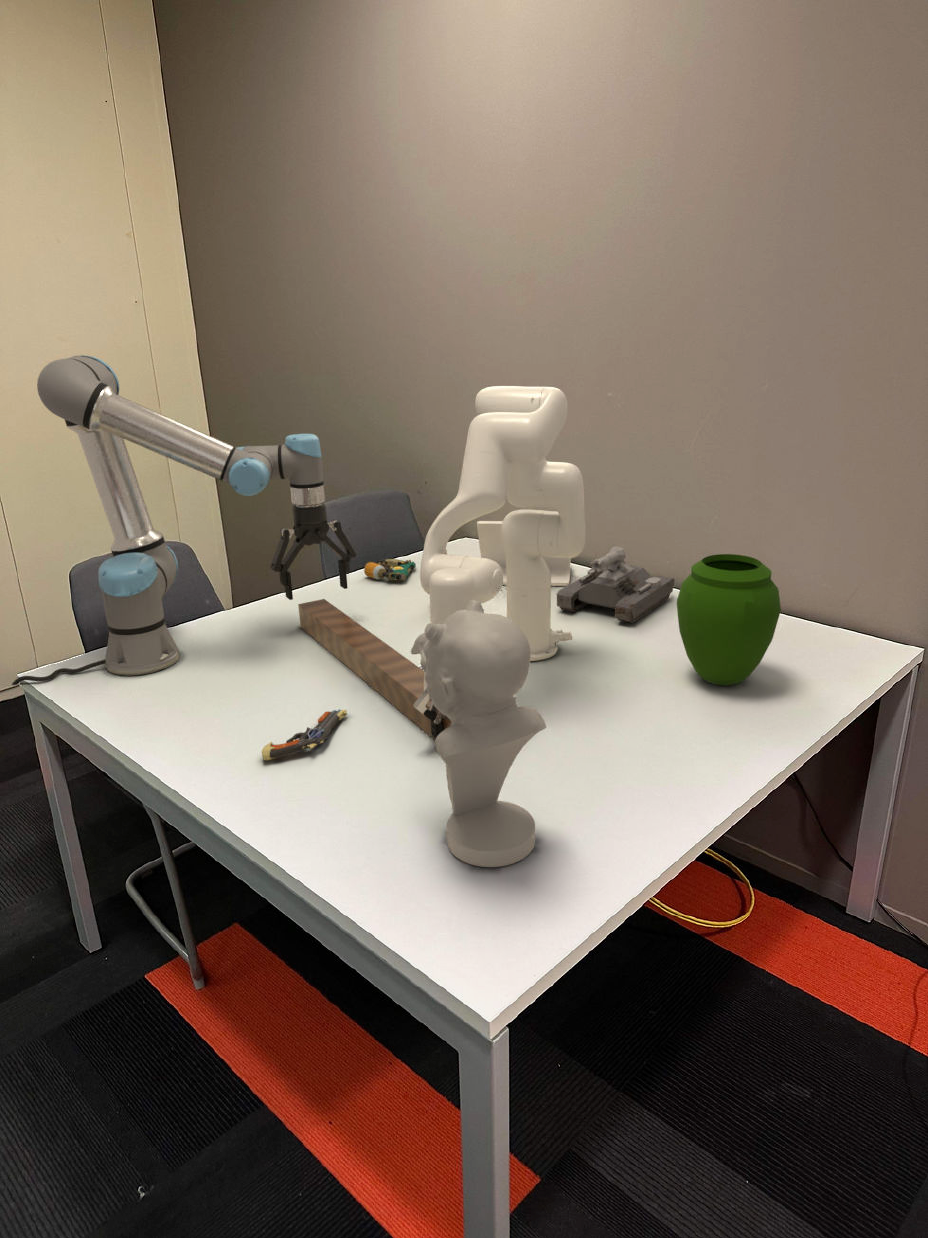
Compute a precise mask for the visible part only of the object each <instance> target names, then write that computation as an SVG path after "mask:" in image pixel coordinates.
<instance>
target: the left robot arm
mask: <svg viewBox="0 0 928 1238" xmlns="http://www.w3.org/2000/svg"><path fill="white" fill-rule="evenodd" d="M36 388H37V394H38V397H39V399H40V401H41V402H42V404H43V405H44V407H45V408H46V409H47V410H48V411H49V412H50V413H51V414H53V415H55V416H57V417H59V418H61V419H63V420H64V422H65V425H66V427H67V429H69V430H71V431H73V432H75V433H76V435H77V436H78V439H79V443H80V444H81V447H82V450H83V453H84V456H85V459H86V461H87V464H88V468H89V470H90V473H91V476H92V478H93V482H94V484H95V487H96V490H97V493H98V496H99V499H100V502H101V504H102V507H103V510H104V513H105V515H106V518H107V522H108V524H109V527H110V529H111V533H112V536H113V542H112V544H111V545H110V552H111V554H112V557H109V558H108V559H106V560H105V561H103V562H102V563H101V564H100V566H99V568H98V570H97V571H98V586H99V589H100V593H101V597H102V603H103V608H104V614H105V618H106V624H107V629H108V634H109V635H108V639H107V646H106V652H105V658H103V659H101V660H98V661H95V662H91V663H89V664H86V665H83V666H80V667H77V668H68V667H62V668H58V669H55V670H54V671H53V672H52V673H50V674H49V675H46V676H33V675H22V676H20V677H17V678H16V679H15V680H13V682H12V684H11V686H17V685H18V684H20V683H21V682H24V681H33V682H47V681H50V680H52V679H54V678H55V677H56V676H57V675H59V674H62V673H63V674H64V673H67V674H78V673H81V672H84V671H87V670H90V669H92V668H95V667H99V666H103V665H105V668H106V670H107V671H108V672H109V673H111V674H114V675H119V676H140V675H147V674H153V673H156V672H158V671H162V670H165V669H167V668H169V667H171V666H172V665H175V664H176V663H177V661H178V660H179V659H180V651H179V647H178V645H177V643H176V641H175V639H174V638H173V635H172V634H171V632H170V630H169V629H168V627H167V625H166V619H165V613H164V612H165V611H164V606H163V600H162V599H163V598H164V596H165V595H166V593H167V592H168V591H169V590H170V589H171V588H172V587H173V585H174V583H175V582H176V579H177V576H178V573H179V563H178V559H177V556H176V554H175V552H174V551H173V550H172V548H171V547H169V546H167V543H166V540H165V538H164V534H163V533H162V532H160V531H159V530H157V529H155V528H154V526H153V523H152V520H151V518H150V514H149V511H148V508H147V505H146V502H145V499H144V496H143V493H142V491H141V487H140V484H139V481H138V478H137V475H136V472H135V470H134V466H133V464H132V460H131V457H130V453H129V451H128V448H127V445H126V443H125V440H126V441H128V442H130V443H132V444H135V445H137V446H139V447H142V448H145V449H147V450H149V451H151V452H153V453H156V454H158V455H161V456H163V457H165V458H168V459H169V460H172V461H174V462H177V463H179V464H182V465H184V466H186V467H189V468H191V469H193V470H195V471H198V472H200V473H203V474H205V475H207V476H210V477H212V478H214V479H217V480H219V481H222V482H224V483H225V484H228V485H230V487H232V489H233V490H234V491H235V492H236V493H237V494H239V495H241V496H245V497H251V496H252V497H254V496H256V495H258V494H260V493H261V492H263V491H264V490H265V488H266V487H267V486H268V485H269V483H270V481H274V480H288V481H289V487H290V497H291V498H290V499H291V504H292V505H293V506H292V508H291V510H292V518H293V520H292V521H293V527H292V528H286V527H282V528H281V529H280V538H279V541H278V543H277V547H276V548H275V552H274V555H273V557H272V559H271V560H272V561H271V562H270V566H269V568H270V569H271V570H272V571H273V572H276V573H279V582H280V583H279V584H280V585H281V586H283V587H284V591H285V597H286V598H287V599H288V600H289V601H292V600H294V594H293V585H292V576H291V575H292V574H291V571H289V569H290V567H291V565H292V564H293V562H294V561H295V559H296V557H297V556H298V554H299V553H300V552H301V550H302V549H303V548H305V547H304V546H313V545H319V544H321V543H322V542H323V543H324V544H326V545H327V546H328V547H329V548H330V549H331V550H332V551H333V552H334V553H335V554H336V555H337V556H338V557H339V558H341V559H338V560H337V564H338V576H339V577H338V578H339V586H340V587H341V588H343V589H344V590H346V589H348V574H350V572H351V571H350V562H351V561H352V559H353V558H356V557H357V553H356V551H355V549H354V548H353V546H352V544H351V543H350V541H349V539H348V538H347V536H346V535H345V532H344V530H342V523H341V522H340V521H338V520H337V519H332V520H331V521H330V522H328V515H327V514H328V513H327V505H326V503H325V502H326V493H325V482H324V471H323V455H322V449H321V443H320V438H319V437H318V436H317V435H316V434H314V433H298V434H297V433H294V434H290V435H287V436H286V437H285V442H284V444H279V445H278V444H277V445H245V446H236V447H235V446H233V445H231V444H229V443H227V442H225V441H222V440H220V439H218V438H216V437H213V436H211V435H209V434H206V433H205V432H202V431H200V430H197V429H195V428H193V427H191V426H188V425H186V424H184V423H182V422H179V421H178V420H175V419H173V418H170V417H168V416H166V415H164V414H162V413H159V412H157V411H155V410H153V409H150V408H148V407H146V406H143V405H141V404H138V403H136V402H134V401H132V400H129V399H127V398H126V397H123V396H121V395H119V394H120V381H119V379H118V376H117V374H116V372H115V371H114V369H113V368H112V366H110V365H109V364H108V363H107V362H105V361H104V360H103V359H100V358H97V357H95V356H91V355H84V354H82V355H74V356H71V357H66V358H59V359H56V360H53V361H51V362H48V363H47V365H45V366H44V367H43V368H42V370H41V371H40V373H39V374H38V377H37V383H36ZM329 530H331V531H332V532H334V534H335V536H336V537H337V539H338V540H339V542H340V544H341V545H342V547H343V549H344V550H345V552H346V553H345V552H344V550H342V549H341V548H340V547H339V546H338V544H336V543H335V542H334V541H333V540H332V539H331V538H330V537H329V536H327V534H328V532H329ZM293 535H294V536H295V539H294V540H293V541H292V545H291V546H290V548H289V549H288V545H289V542H290V539H291V538H292V536H293ZM287 549H288V551H287ZM286 551H287V552H286Z"/></svg>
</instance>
